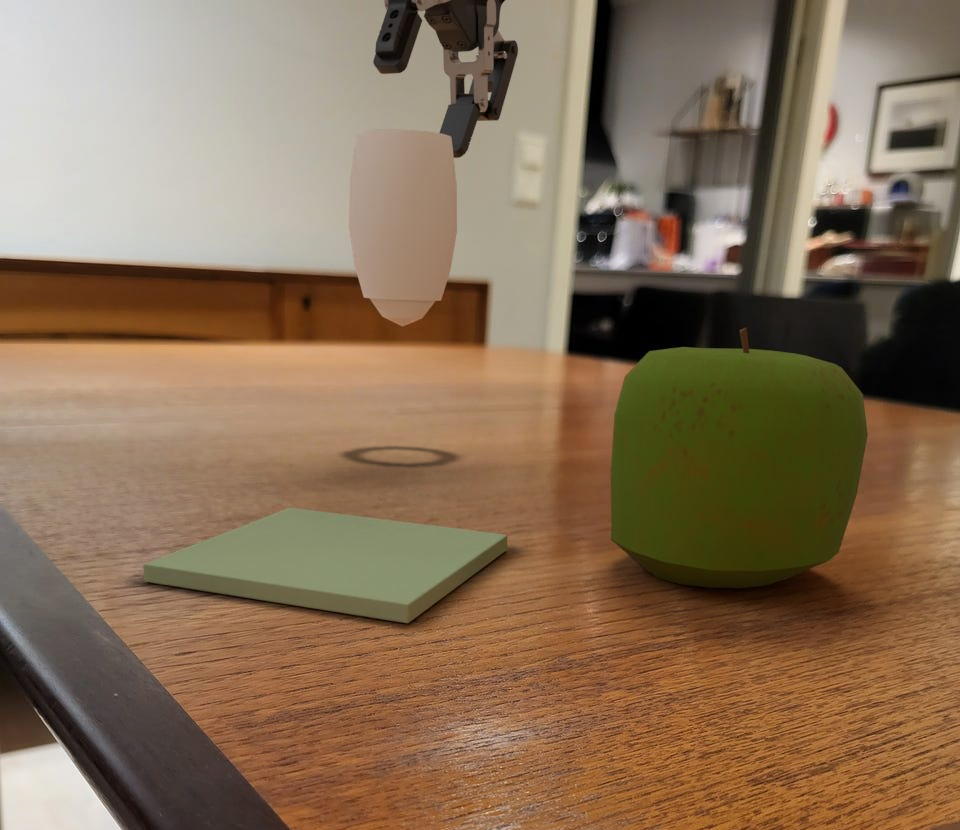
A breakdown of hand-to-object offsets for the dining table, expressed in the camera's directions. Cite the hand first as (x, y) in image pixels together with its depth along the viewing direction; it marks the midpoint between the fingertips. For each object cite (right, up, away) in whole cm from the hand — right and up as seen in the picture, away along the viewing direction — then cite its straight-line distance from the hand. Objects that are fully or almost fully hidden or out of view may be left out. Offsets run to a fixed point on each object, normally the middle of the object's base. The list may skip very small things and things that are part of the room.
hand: (419, 114), depth 67 cm
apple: (+15, -32, -21) cm, 41 cm away
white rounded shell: (-2, -22, +5) cm, 23 cm away
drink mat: (-2, -32, -22) cm, 39 cm away
